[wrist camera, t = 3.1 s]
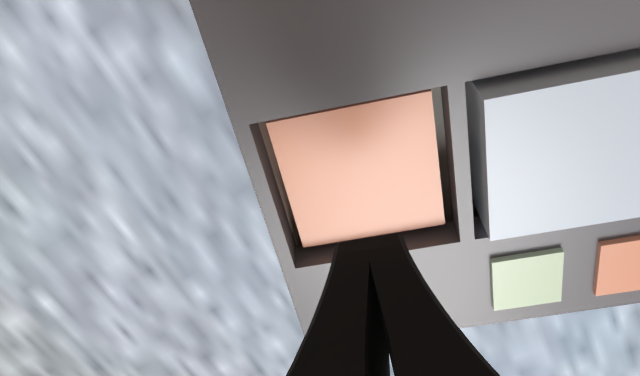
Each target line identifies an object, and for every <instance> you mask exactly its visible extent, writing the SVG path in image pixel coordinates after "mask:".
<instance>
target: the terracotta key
mask: <svg viewBox="0 0 640 376" xmlns="http://www.w3.org/2000/svg"><path fill="white" fill-rule="evenodd" d="M266 126H267V129H268V132H269V136H270V139H271V142H272V146H273V149H274V152H275V156H276V159H277V162H278V166H279V169H280V172H281V175H282V179H283V182H284V185H285V189H286V192H287V195H288V199H289V202H290V205H291V208H292V212H293V215H294V218H295V222H296V225H297V228H298V232H299V235H300V238H301V242H302V245H303V248H305V247H311V246H317V245H323V244H329V243H335V242H341V241H347V240H353V239H359V238H365V237H371V236H377V235H383V234H389V233H395V232H401V231H408V230H414V229H420V228H426V227H432V226H438V225H444V224H445V218H444V208H443V198H442V188H441V179H440V169H439V159H438V149H437V139H436V129H435V120H434V110H433V100H432V91H431V89H427V90H422V91H417V92H412V93H406V94H401V95H396V96H391V97H386V98H381V99H376V100H371V101H366V102H361V103H356V104H351V105H345V106H340V107H335V108H330V109H325V110H320V111H315V112H310V113H305V114H300V115H295V116H290V117H284V118H279V119H274V120H269V121H266Z"/></svg>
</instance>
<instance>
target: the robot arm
mask: <svg viewBox="0 0 640 376" xmlns="http://www.w3.org/2000/svg"><path fill="white" fill-rule="evenodd" d="M389 354H390V359H391V363H392V367H393V371H394V375H395V376H500V375H499V374H498V373H497V372H496V371H495V370H494V369H493V367H492V366H491V365H490V364H489V363H488V362H487V361H486V360H485V359H484V357H483V356H482V355H481V354H480V353H479V352H478V351H477V349H476V348H475V347H474V346H473V345H472V343H471V342H470V341H469V340H468V339H467V337H466V336H465V335H464V334H463V332H462V331H461V330H460V329H459V327H458V326H457V325H456V324H455V322H454V321H453V320H452V318H451V317H450V316H449V314H448V313H447V312H446V310H445V309H444V307H443V306H442V305H441V303H440V302H439V300H438V299H437V297H436V296H435V294H434V293H433V291H432V290H431V289H430V287H429V286H428V284H427V282H426V281H425V279H424V278H423V276H422V274H421V273H420V271H419V269H418V267H417V266H416V264H415V262H414V260H413V258H412V256H411V254H410V252H409V250H408V248H407V246H406V243H405V240H404V237H403V236H402V235H400V234H398V233H394V234H388V235H382V236H375V237H369V238H363V239H357V240H351V241H345V242H339V243H338V244H337V245H336V247H335V248H334V254H333V258H332V262H331V266H330V270H329V273H328V276H327V280H326V283H325V286H324V289H323V292H322V295H321V297H320V300H319V302H318V305H317V308H316V310H315V313H314V316H313V318H312V321H311V323H310V326H309V328H308V330H307V332H306V335H305V337H304V339H303V341H302V343H301V346H300V348H299V350H298V352H297V354H296V357H295V359H294V361H293V363H292V365H291V367H290V369H289V371H288V373H287V375H286V376H390V365H389Z"/></svg>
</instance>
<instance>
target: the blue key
mask: <svg viewBox="0 0 640 376" xmlns="http://www.w3.org/2000/svg"><path fill="white" fill-rule="evenodd" d="M465 94H466V110H467V126H468V141H469V157H470V173H471V189H472V200H473V203H474V205H475V207H476V210H477V212H478V214H479V217H480V219H481V221H482V224H483V226H484V228H485V231H486V233H487V235H488V238H489V240H490V241H495V240H501V239H507V238H513V237H520V236H526V235H532V234H538V233H544V232H551V231H557V230H563V229H569V228H576V227H582V226H588V225H594V224H601V223H607V222H613V221H619V220H626V219H632V218H638V217H640V48H635V49H630V50H625V51H620V52H615V53H610V54H605V55H600V56H595V57H589V58H584V59H579V60H574V61H569V62H564V63H559V64H554V65H549V66H544V67H539V68H534V69H528V70H523V71H518V72H513V73H508V74H503V75H498V76H493V77H488V78H483V79H478V80H473V81H467V82H465Z"/></svg>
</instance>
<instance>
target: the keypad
mask: <svg viewBox="0 0 640 376" xmlns="http://www.w3.org/2000/svg"><path fill="white" fill-rule="evenodd" d="M189 1H190V4H191V7H192V10H193V13H194V16H195V19H196V21H197V24H198V27H199V30H200V33H201V36H202V39H203V42H204V45H205V48H206V51H207V54H208V56H209V59H210V62H211V65H212V68H213V71H214V74H215V77H216V80H217V83H218V86H219V88H220V91H221V94H222V97H223V100H224V103H225V106H226V109H227V112H228V115H229V118H230V121H231V123H232V126H233V129H234V132H235V135H236V138H237V141H238V144H239V147H240V150H241V153H242V155H243V158H244V161H245V164H246V167H247V170H248V173H249V176H250V179H251V182H252V185H253V188H254V190H255V193H256V196H257V199H258V202H259V205H260V208H261V211H262V214H263V217H264V220H265V223H266V225H267V228H268V231H269V234H270V237H271V240H272V243H273V246H274V249H275V252H276V255H277V257H278V260H279V263H280V266H281V269H282V272H283V275H284V278H285V281H286V284H287V287H288V290H289V292H290V295H291V298H292V301H293V304H294V307H295V310H296V313H297V316H298V319H299V322H300V324H301V327H302V330H303V333H304V336H305V335H306V332H307V330H308V328H309V326H310V323H311V321H312V318H313V316H314V313H315V310H316V308H317V305H318V302H319V300H320V297H321V295H322V292H323V289H324V286H325V283H326V280H327V276H328V273H329V270H330V266H331V262H332V258H333V254H334V248H335V247H336V245H337V244H338V243H339V242H335V243H329V244H323V245H317V246H311V247H305V248H303V245H302V242H301V238H300V235H299V232H298V228H297V225H296V222H295V218H294V215H293V212H292V208H291V205H290V202H289V199H288V195H287V192H286V189H285V185H284V182H283V179H282V175H281V172H280V169H279V166H278V162H277V159H276V156H275V152H274V149H273V146H272V142H271V139H270V136H269V132H268V129H267V126H266V121H269V120H274V119H279V118H284V117H290V116H295V115H300V114H305V113H310V112H315V111H320V110H325V109H330V108H335V107H340V106H345V105H351V104H356V103H361V102H366V101H371V100H376V99H381V98H386V97H391V96H396V95H401V94H406V93H412V92H417V91H422V90H427V89H431V91H432V100H433V110H434V120H435V129H436V139H437V149H438V159H439V169H440V179H441V188H442V198H443V208H444V218H445V224H444V225H438V226H432V227H426V228H420V229H414V230H408V231H401V232H395V233H398V234H400V235H402V236H403V237H404V240H405V243H406V246H407V248H408V250H409V252H410V254H411V256H412V258H413V260H414V262H415V264H416V266H417V267H418V269H419V271H420V273H421V274H422V276H423V278H424V279H425V281H426V282H427V284H428V286H429V287H430V289H431V290H432V291H433V293H434V294H435V296H436V297H437V299H438V300H439V302H440V303H441V305H442V306H443V307H444V309H445V310H446V312H447V313H448V314H449V316H450V317H451V318H452V320H453V321H454V322H455V324H456V325H457V326H458V327H459V328H465V327H472V326H479V325H486V324H493V323H500V322H508V321H515V320H522V319H529V318H536V317H543V316H550V315H557V314H564V313H571V312H578V311H585V310H592V309H599V308H606V307H613V306H620V305H627V304H634V303H640V217H638V218H632V219H626V220H619V221H613V222H607V223H601V224H594V225H588V226H582V227H576V228H569V229H563V230H557V231H551V232H544V233H538V234H532V235H526V236H520V237H513V238H507V239H501V240H495V241H490V240H489V238H488V235H487V233H486V231H485V228H484V226H483V224H482V221H481V219H480V217H479V214H478V212H477V210H476V207H475V205H474V203H473V200H472V189H471V173H470V157H469V141H468V126H467V110H466V94H465V82H467V81H473V80H478V79H483V78H488V77H493V76H498V75H503V74H508V73H513V72H518V71H523V70H528V69H534V68H539V67H544V66H549V65H554V64H559V63H564V62H569V61H574V60H579V59H584V58H589V57H595V56H600V55H605V54H610V53H615V52H620V51H625V50H630V49H635V48H640V0H189ZM389 234H394V233H389ZM383 235H388V234H383ZM377 236H382V235H377ZM371 237H375V236H371ZM365 238H369V237H365ZM359 239H363V238H359ZM353 240H357V239H353ZM347 241H351V240H347ZM341 242H345V241H341Z"/></svg>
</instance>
